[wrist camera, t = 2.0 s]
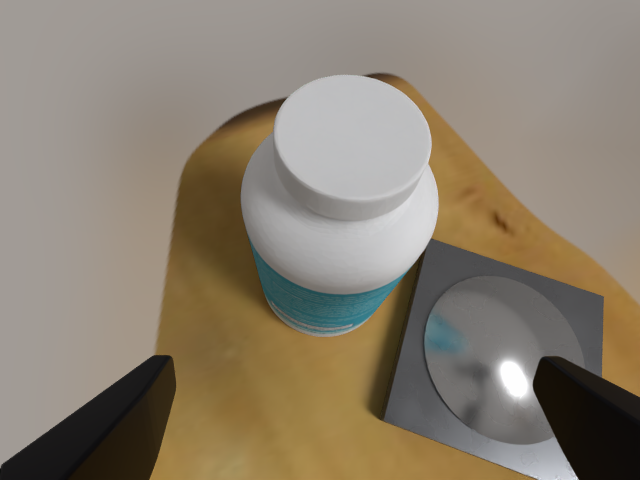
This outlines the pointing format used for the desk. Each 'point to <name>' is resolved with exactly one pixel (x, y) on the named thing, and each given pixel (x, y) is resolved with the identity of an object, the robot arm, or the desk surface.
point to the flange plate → (488, 357)
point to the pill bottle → (339, 202)
